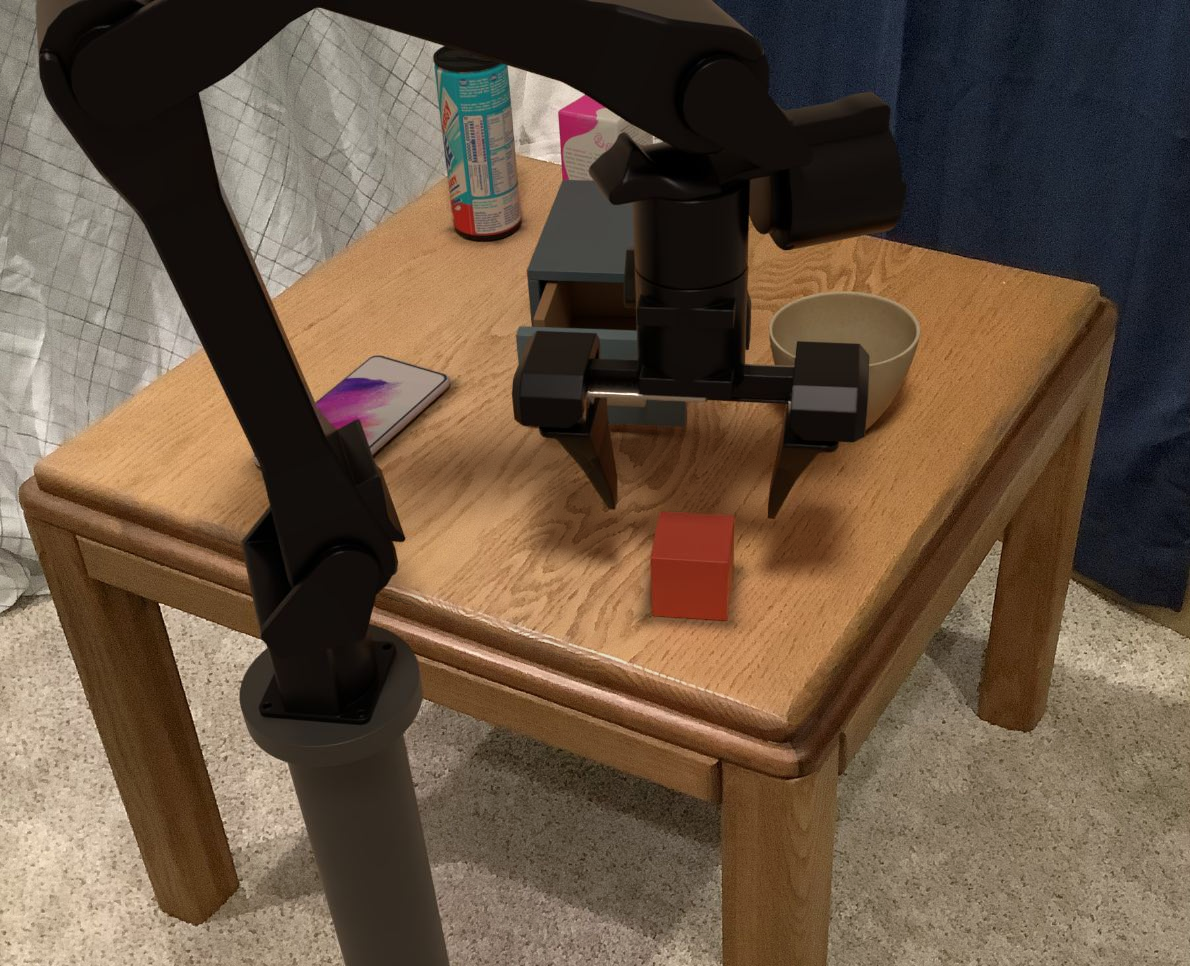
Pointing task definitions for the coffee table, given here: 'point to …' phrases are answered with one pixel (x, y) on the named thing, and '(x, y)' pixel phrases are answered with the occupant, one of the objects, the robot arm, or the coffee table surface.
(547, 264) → the cabinet
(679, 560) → the block
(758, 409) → the coffee table surface
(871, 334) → the bowl
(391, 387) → the smartphone
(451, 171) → the teal canister
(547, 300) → the drawer
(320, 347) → the coffee table surface
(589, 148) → the supplement box
